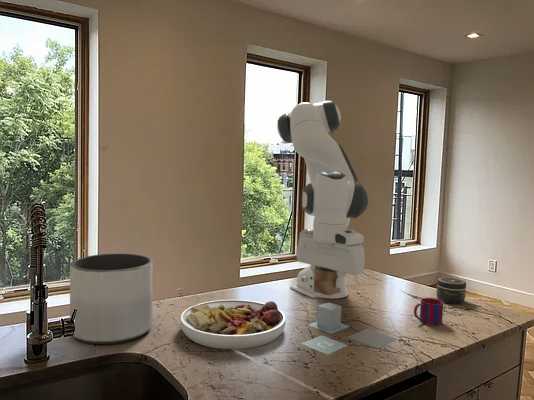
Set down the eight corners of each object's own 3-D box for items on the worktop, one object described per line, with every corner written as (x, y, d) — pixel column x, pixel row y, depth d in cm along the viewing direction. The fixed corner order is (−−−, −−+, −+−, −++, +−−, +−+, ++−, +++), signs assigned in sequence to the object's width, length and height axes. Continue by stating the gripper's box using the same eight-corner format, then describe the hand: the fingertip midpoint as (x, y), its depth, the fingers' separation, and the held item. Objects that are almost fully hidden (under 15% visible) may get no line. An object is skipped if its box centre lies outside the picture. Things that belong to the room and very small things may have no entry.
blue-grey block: (316, 325, 135) (317, 305, 135) (327, 321, 139) (328, 302, 138) (330, 329, 132) (331, 309, 131) (340, 325, 135) (341, 306, 135)
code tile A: (300, 345, 121) (300, 343, 121) (322, 337, 128) (322, 335, 128) (327, 356, 115) (327, 354, 115) (348, 347, 121) (348, 345, 121)
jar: (467, 300, 168) (468, 279, 167) (462, 306, 160) (464, 285, 159) (439, 294, 173) (440, 275, 173) (433, 301, 165) (434, 280, 164)
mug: (446, 325, 141) (448, 303, 140) (418, 327, 138) (420, 305, 138) (433, 317, 147) (434, 297, 147) (406, 319, 145) (407, 298, 144)
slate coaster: (347, 339, 127) (347, 337, 127) (367, 330, 134) (367, 328, 134) (378, 350, 120) (378, 348, 120) (397, 341, 127) (397, 339, 127)
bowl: (200, 363, 110) (201, 332, 109) (167, 322, 136) (168, 296, 136) (304, 343, 124) (305, 315, 123) (256, 309, 150) (257, 286, 150)
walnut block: (313, 291, 120) (314, 269, 120) (325, 288, 124) (326, 266, 123) (328, 295, 117) (329, 272, 116) (340, 292, 120) (341, 270, 119)
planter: (129, 312, 143) (129, 250, 142) (167, 332, 128) (168, 263, 126) (57, 329, 128) (56, 259, 126) (90, 354, 112) (90, 275, 110)
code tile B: (307, 326, 136) (307, 324, 135) (326, 320, 142) (326, 318, 142) (331, 335, 129) (331, 333, 129) (349, 328, 135) (349, 326, 135)
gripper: (292, 228, 124) (290, 278, 125) (354, 239, 109) (352, 295, 111) (307, 227, 128) (305, 274, 129) (369, 237, 114) (366, 291, 115)
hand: (327, 284), depth 120 cm, fingers closed on walnut block, 5 cm apart
